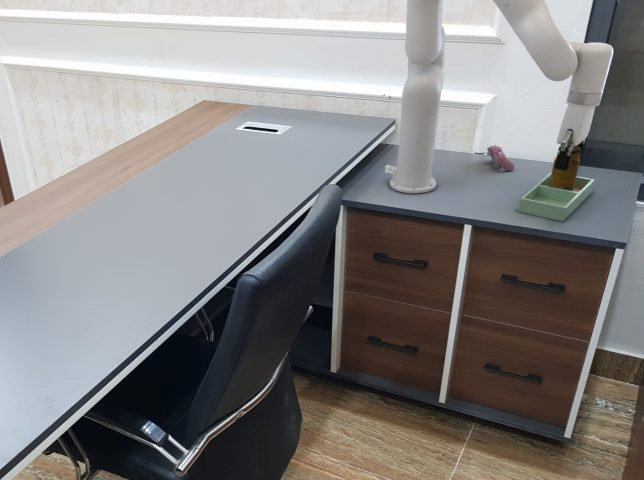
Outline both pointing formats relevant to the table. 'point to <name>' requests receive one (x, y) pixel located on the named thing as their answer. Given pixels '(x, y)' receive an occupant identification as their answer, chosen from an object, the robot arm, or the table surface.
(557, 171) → the condiment
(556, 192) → the tray
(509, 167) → the pink animal figurine
